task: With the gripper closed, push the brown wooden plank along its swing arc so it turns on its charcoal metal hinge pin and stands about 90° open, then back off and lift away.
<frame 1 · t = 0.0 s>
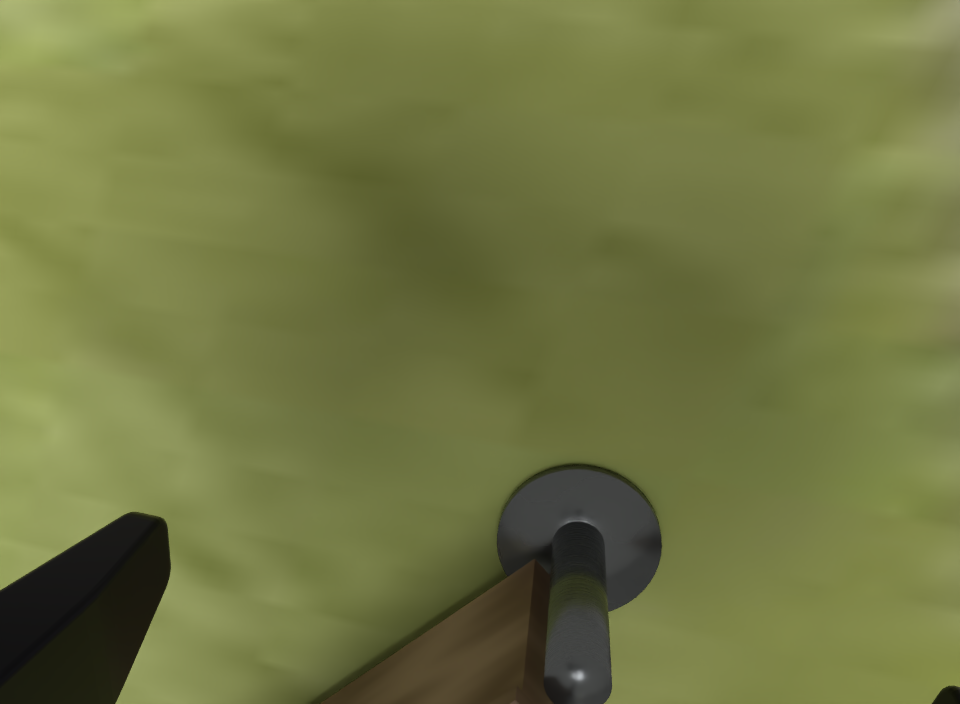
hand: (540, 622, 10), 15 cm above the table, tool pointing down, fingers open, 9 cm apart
hinge pin: (578, 538, 27), on the table
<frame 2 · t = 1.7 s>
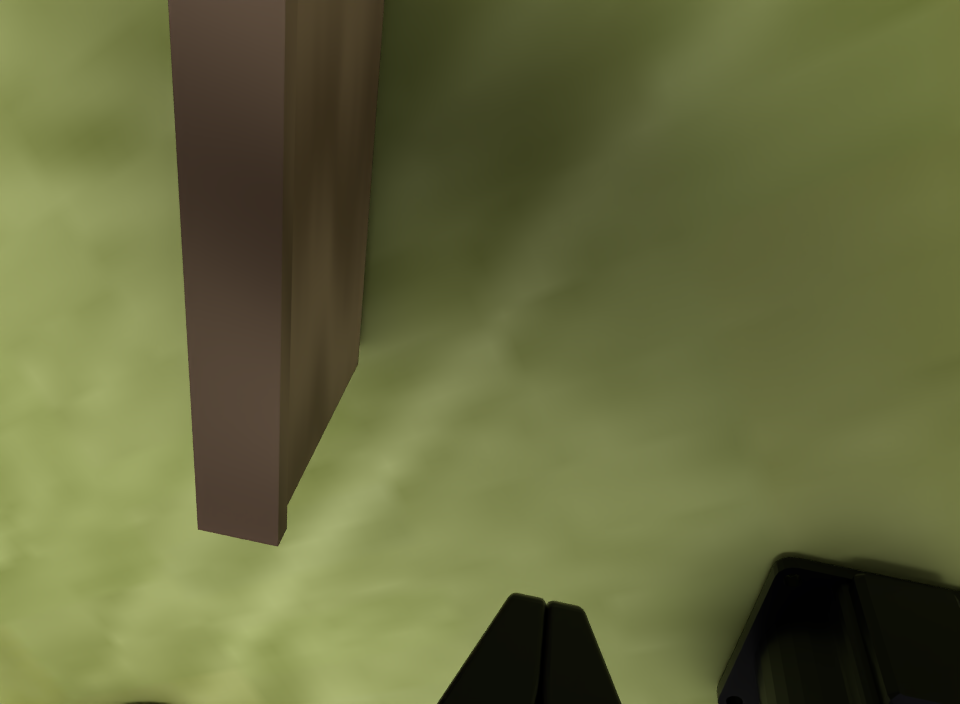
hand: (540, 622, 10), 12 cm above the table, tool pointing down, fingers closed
brown wooden plank: (289, 143, 16), point 4 cm above the table, hinge at 0.0°
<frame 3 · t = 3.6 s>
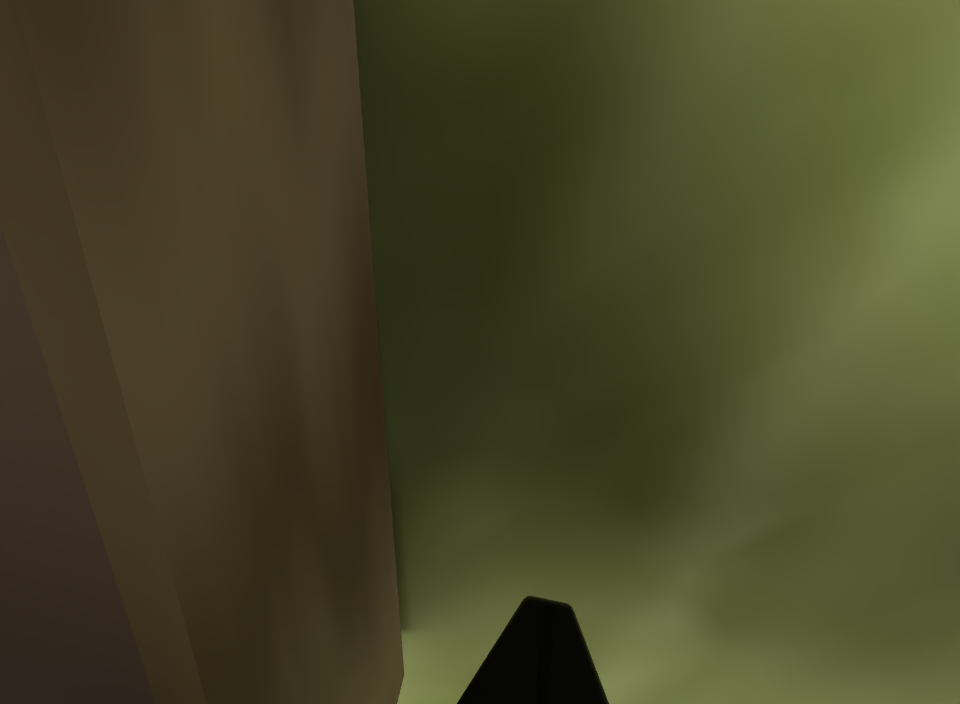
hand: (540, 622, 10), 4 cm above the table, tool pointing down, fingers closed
brown wooden plank: (232, 506, 9), point 4 cm above the table, hinge at 5.7°, touching gripper
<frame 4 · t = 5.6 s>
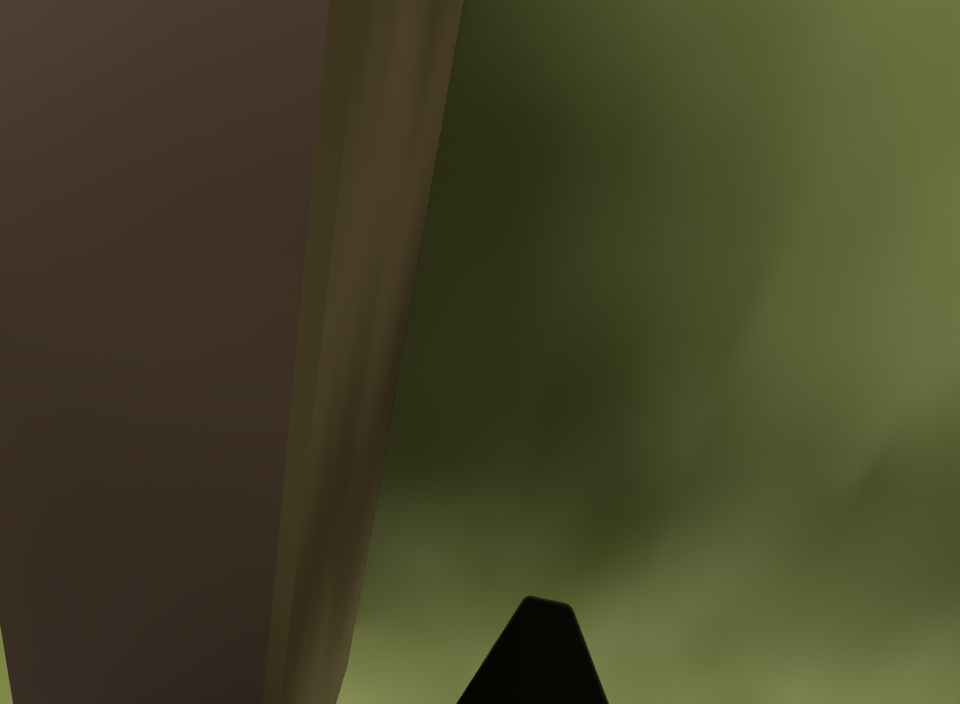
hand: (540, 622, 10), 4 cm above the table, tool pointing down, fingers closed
brown wooden plank: (264, 495, 9), point 4 cm above the table, hinge at 52.1°, touching gripper
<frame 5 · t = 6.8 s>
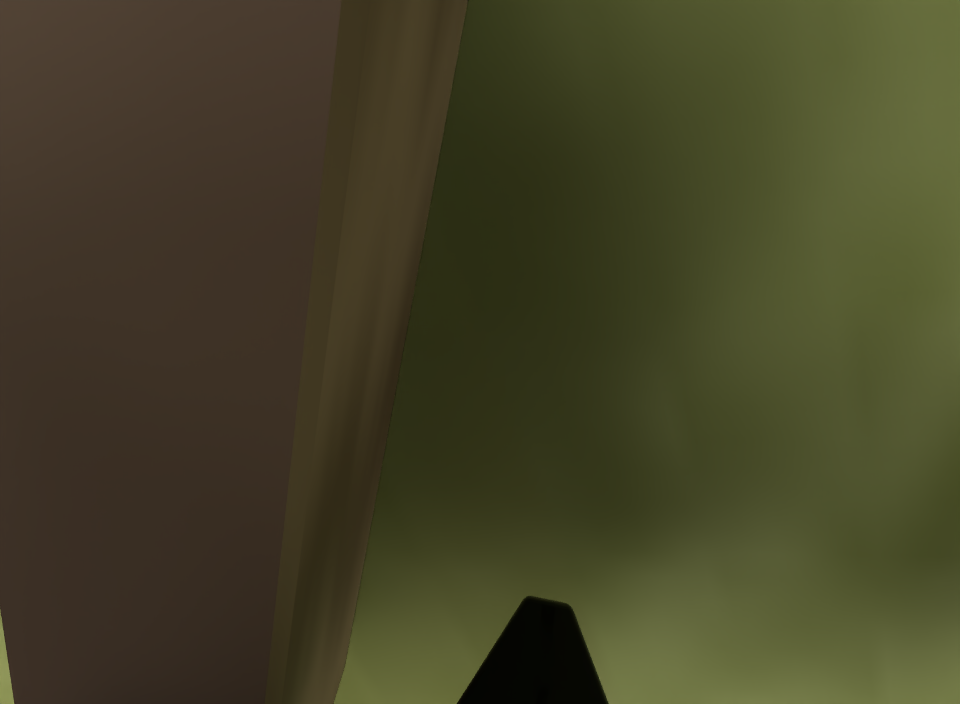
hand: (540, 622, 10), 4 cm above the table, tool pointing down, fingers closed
brown wooden plank: (264, 493, 9), point 4 cm above the table, hinge at 78.6°, touching gripper
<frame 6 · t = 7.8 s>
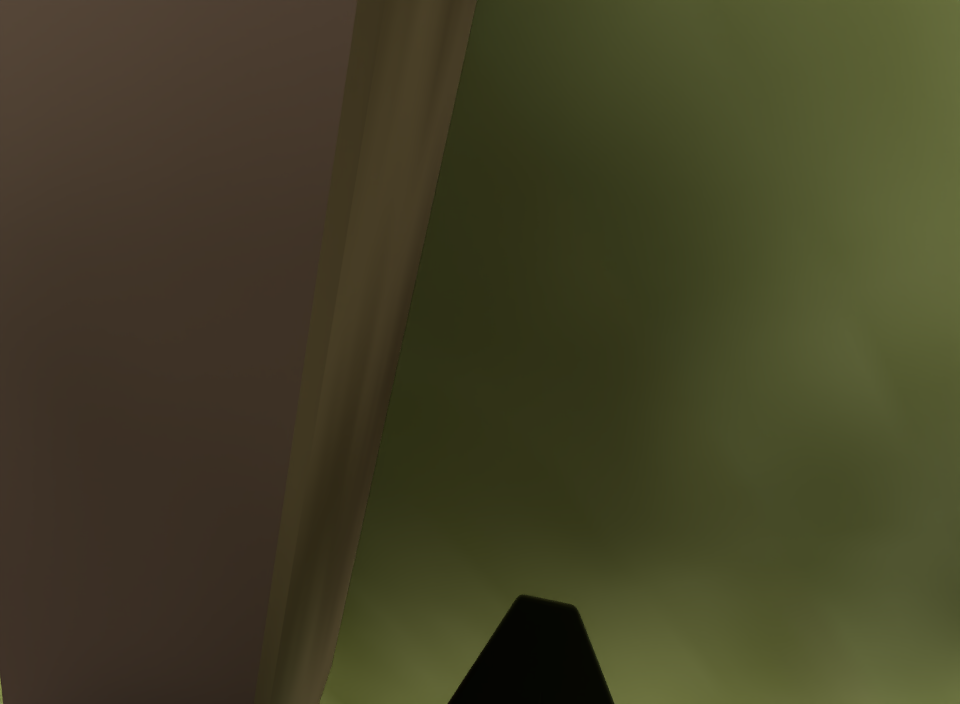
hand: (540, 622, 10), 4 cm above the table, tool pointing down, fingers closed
brown wooden plank: (258, 490, 9), point 4 cm above the table, hinge at 95.3°, touching gripper
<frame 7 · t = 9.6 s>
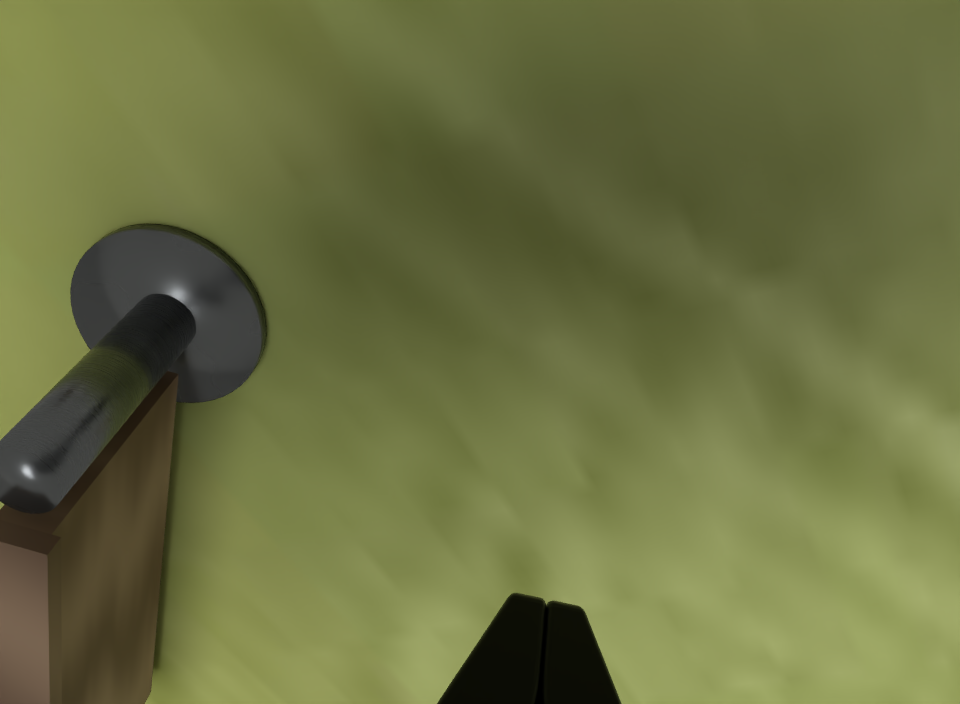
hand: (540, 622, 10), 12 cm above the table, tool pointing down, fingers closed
brown wooden plank: (80, 632, 23), point 4 cm above the table, hinge at 95.3°
hinge pin: (172, 314, 22), on the table
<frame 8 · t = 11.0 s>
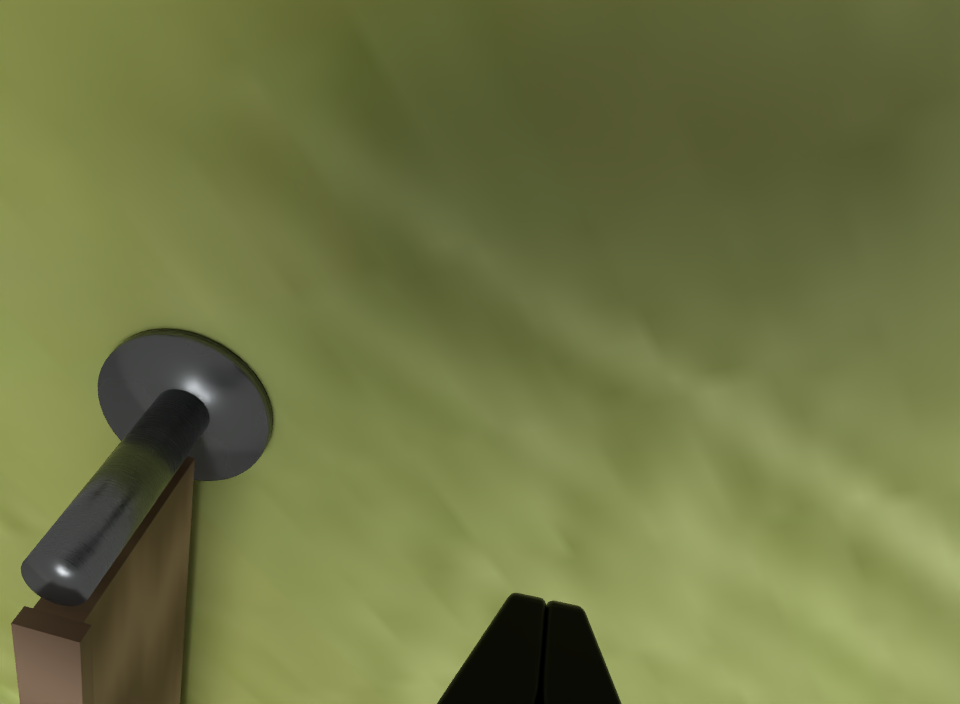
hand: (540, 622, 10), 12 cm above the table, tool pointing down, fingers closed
brown wooden plank: (112, 688, 26), point 4 cm above the table, hinge at 95.3°
hinge pin: (188, 404, 25), on the table
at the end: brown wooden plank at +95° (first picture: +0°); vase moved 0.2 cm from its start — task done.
